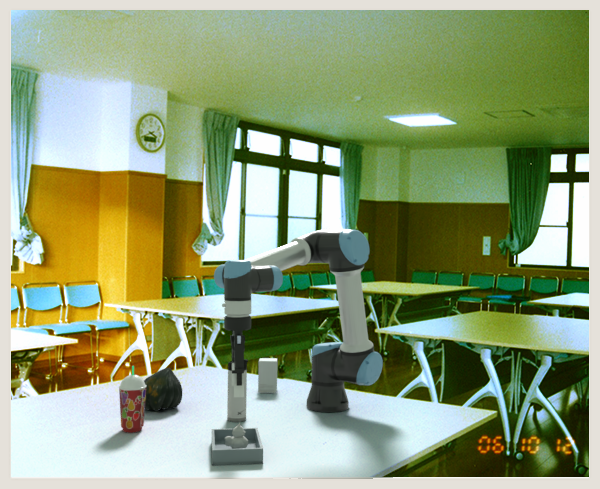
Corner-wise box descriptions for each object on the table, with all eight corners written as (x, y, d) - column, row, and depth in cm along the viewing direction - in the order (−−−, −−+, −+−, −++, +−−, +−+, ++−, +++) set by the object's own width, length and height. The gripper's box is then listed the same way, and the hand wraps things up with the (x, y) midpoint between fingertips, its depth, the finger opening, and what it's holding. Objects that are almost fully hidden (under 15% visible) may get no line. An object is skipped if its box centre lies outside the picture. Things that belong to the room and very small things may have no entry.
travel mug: (244, 422, 211) (244, 361, 211) (224, 421, 212) (225, 360, 212) (249, 417, 217) (250, 358, 217) (230, 416, 218) (231, 357, 218)
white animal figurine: (248, 453, 178) (248, 424, 178) (224, 453, 178) (224, 424, 178) (248, 447, 184) (248, 418, 184) (224, 447, 183) (225, 419, 183)
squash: (124, 394, 225) (149, 364, 221) (150, 387, 238) (174, 359, 235) (149, 425, 220) (175, 395, 217) (173, 416, 234) (198, 388, 231)
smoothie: (151, 428, 204) (152, 364, 204) (136, 435, 196) (137, 369, 196) (128, 425, 206) (129, 362, 206) (112, 432, 198) (113, 367, 198)
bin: (257, 441, 191) (257, 427, 191) (263, 463, 172) (263, 448, 172) (211, 442, 189) (211, 429, 189) (212, 465, 170) (212, 450, 170)
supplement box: (276, 393, 253) (276, 361, 253) (257, 393, 253) (258, 361, 253) (277, 389, 260) (277, 357, 260) (259, 389, 260) (259, 357, 260)
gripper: (223, 310, 193) (223, 381, 193) (225, 321, 168) (225, 402, 168) (248, 309, 194) (248, 380, 194) (254, 320, 169) (254, 401, 169)
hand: (237, 391), depth 181 cm, fingers open, 13 cm apart
